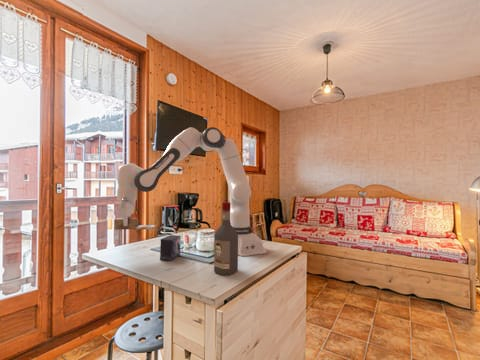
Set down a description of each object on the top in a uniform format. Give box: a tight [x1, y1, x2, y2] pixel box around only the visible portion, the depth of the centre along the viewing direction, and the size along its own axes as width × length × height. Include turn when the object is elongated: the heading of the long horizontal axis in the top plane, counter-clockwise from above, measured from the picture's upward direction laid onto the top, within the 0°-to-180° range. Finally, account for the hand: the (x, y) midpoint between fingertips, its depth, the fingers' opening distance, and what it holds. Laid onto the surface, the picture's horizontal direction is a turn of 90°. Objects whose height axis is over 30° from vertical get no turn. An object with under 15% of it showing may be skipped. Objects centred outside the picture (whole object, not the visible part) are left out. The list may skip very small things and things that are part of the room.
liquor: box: [213, 201, 239, 277], centre depth 107 cm, size 9×9×30 cm
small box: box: [159, 234, 181, 262], centre depth 126 cm, size 11×6×10 cm, turn 168°
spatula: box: [114, 217, 156, 231], centre depth 121 cm, size 18×6×5 cm, turn 104°
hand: (126, 224), depth 120 cm, fingers closed on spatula, 3 cm apart
